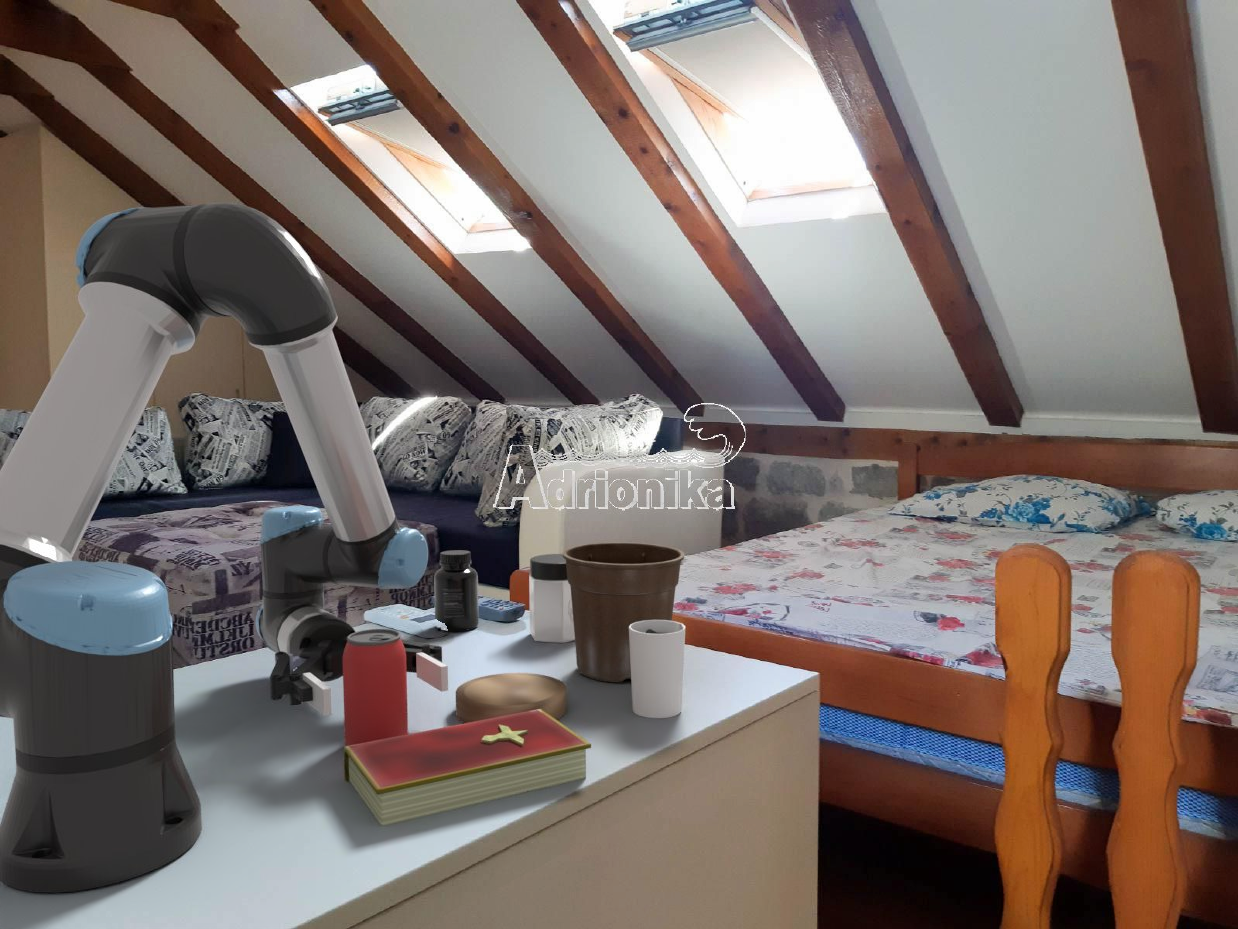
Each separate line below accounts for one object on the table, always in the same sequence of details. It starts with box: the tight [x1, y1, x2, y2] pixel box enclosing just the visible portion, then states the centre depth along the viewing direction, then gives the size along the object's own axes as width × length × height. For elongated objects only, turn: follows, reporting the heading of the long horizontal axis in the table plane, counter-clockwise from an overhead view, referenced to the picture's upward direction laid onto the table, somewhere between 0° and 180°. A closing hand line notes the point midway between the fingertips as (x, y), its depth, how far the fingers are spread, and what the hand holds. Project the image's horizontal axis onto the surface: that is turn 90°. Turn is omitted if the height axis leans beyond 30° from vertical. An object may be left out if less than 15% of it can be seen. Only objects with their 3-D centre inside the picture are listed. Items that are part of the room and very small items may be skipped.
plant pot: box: [561, 542, 685, 683], centre depth 128 cm, size 16×16×16 cm
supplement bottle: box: [433, 549, 480, 633], centre depth 151 cm, size 7×7×12 cm
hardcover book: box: [343, 709, 592, 827], centre depth 93 cm, size 12×21×4 cm, turn 120°
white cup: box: [629, 620, 686, 719], centre depth 112 cm, size 7×7×10 cm
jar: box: [528, 553, 575, 644], centre depth 145 cm, size 9×8×12 cm
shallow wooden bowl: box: [455, 672, 568, 724], centre depth 113 cm, size 13×13×2 cm
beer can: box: [342, 628, 409, 746], centre depth 102 cm, size 7×7×12 cm
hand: (388, 690), depth 99 cm, fingers open, 12 cm apart
